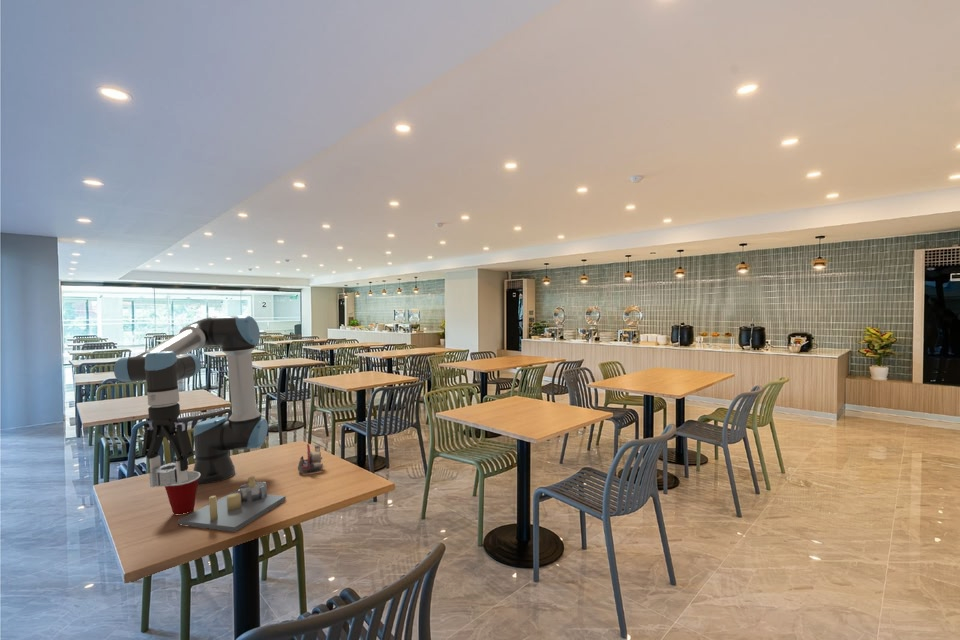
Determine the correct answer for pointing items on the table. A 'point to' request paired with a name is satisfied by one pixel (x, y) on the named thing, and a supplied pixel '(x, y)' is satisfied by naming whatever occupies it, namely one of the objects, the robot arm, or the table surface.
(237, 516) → the plate
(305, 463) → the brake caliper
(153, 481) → the planet gear
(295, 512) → the table surface
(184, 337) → the robot arm
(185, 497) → the plastic cup
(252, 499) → the seated gear
